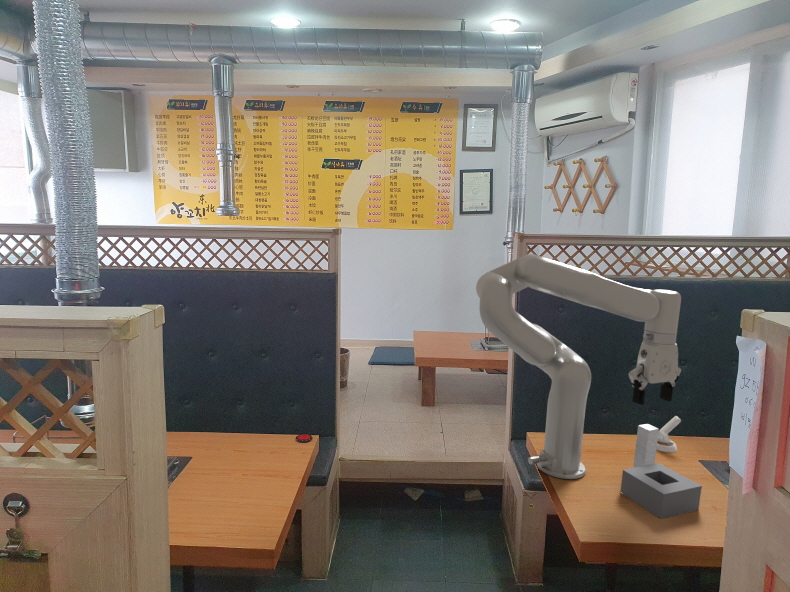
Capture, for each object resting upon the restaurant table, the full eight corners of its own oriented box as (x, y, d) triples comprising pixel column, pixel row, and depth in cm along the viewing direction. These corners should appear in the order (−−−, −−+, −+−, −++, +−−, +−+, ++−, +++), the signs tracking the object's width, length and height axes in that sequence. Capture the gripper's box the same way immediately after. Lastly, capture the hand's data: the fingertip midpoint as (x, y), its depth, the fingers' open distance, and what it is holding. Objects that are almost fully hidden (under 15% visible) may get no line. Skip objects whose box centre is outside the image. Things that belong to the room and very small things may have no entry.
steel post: (643, 477, 137) (648, 430, 136) (632, 471, 141) (638, 425, 139) (653, 475, 139) (658, 428, 137) (642, 469, 142) (647, 423, 140)
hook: (701, 437, 152) (686, 425, 150) (670, 464, 155) (656, 453, 153) (685, 422, 159) (671, 411, 157) (657, 448, 162) (642, 438, 160)
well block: (661, 518, 118) (664, 494, 117) (620, 492, 129) (622, 469, 128) (698, 509, 123) (701, 485, 122) (656, 485, 133) (658, 463, 133)
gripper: (646, 343, 128) (638, 409, 130) (696, 339, 134) (688, 403, 137) (622, 336, 134) (615, 399, 137) (671, 333, 141) (664, 394, 143)
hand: (651, 401), depth 137 cm, fingers open, 9 cm apart
